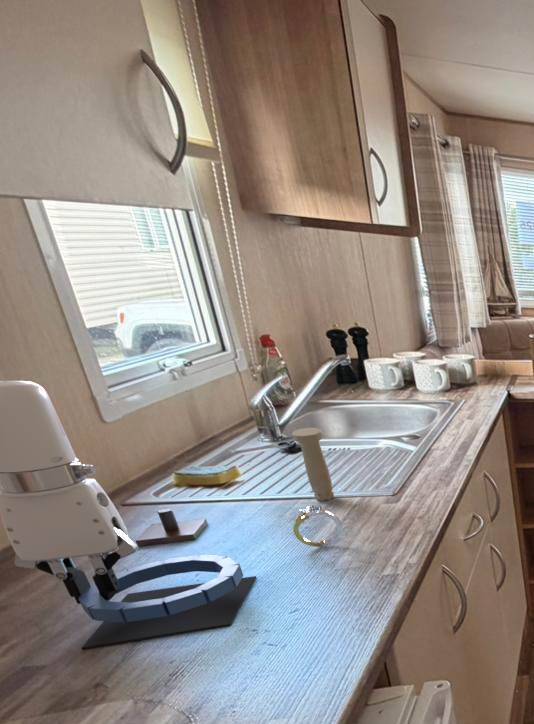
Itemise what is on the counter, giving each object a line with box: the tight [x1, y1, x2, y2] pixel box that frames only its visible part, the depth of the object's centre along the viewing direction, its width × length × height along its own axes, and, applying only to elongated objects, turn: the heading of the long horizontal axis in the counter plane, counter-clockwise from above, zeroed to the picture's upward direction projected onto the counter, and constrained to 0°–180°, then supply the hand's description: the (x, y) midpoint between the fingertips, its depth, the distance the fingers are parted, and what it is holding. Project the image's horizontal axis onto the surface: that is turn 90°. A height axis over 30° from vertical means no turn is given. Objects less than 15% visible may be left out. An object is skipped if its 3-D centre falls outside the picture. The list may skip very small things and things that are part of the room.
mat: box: [81, 575, 257, 651], centre depth 97 cm, size 16×16×1 cm
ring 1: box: [79, 554, 244, 622], centre depth 95 cm, size 17×17×2 cm
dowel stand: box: [135, 507, 209, 547], centre depth 118 cm, size 8×8×5 cm
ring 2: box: [292, 504, 343, 548], centre depth 116 cm, size 7×3×8 cm, turn 119°
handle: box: [291, 427, 335, 502], centre depth 135 cm, size 5×6×15 cm
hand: (98, 596), depth 92 cm, fingers closed on ring 1, 2 cm apart
